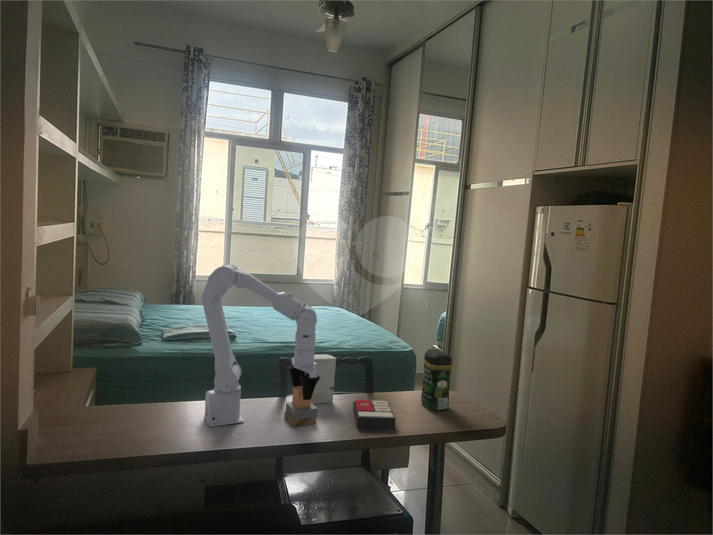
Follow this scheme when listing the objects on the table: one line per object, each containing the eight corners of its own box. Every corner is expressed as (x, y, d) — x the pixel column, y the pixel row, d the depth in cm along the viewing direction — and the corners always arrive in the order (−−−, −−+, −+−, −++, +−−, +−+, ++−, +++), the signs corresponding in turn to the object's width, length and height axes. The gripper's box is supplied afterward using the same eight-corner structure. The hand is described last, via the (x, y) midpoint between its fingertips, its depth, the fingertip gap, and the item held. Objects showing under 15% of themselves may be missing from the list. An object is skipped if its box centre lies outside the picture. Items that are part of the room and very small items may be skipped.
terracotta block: (297, 408, 135) (298, 391, 134) (292, 403, 138) (293, 386, 138) (310, 406, 137) (311, 389, 136) (304, 401, 140) (305, 385, 140)
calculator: (388, 399, 150) (396, 415, 135) (387, 413, 150) (395, 430, 135) (353, 398, 149) (357, 414, 134) (352, 412, 149) (356, 429, 134)
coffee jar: (417, 401, 160) (421, 347, 158) (438, 400, 162) (443, 347, 160) (429, 412, 150) (433, 354, 149) (451, 411, 152) (456, 354, 151)
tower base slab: (293, 428, 133) (293, 420, 132) (284, 419, 139) (284, 411, 138) (315, 425, 136) (316, 416, 136) (306, 416, 142) (306, 408, 142)
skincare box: (310, 405, 150) (312, 359, 149) (303, 399, 155) (305, 354, 154) (334, 402, 154) (336, 357, 153) (326, 396, 159) (329, 352, 158)
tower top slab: (294, 420, 132) (294, 411, 132) (285, 411, 139) (286, 402, 138) (317, 416, 136) (317, 408, 136) (307, 408, 142) (308, 400, 142)
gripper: (328, 354, 131) (325, 401, 132) (307, 342, 144) (305, 385, 145) (304, 356, 128) (301, 404, 129) (285, 343, 141) (283, 388, 142)
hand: (302, 394), depth 137 cm, fingers open, 7 cm apart
